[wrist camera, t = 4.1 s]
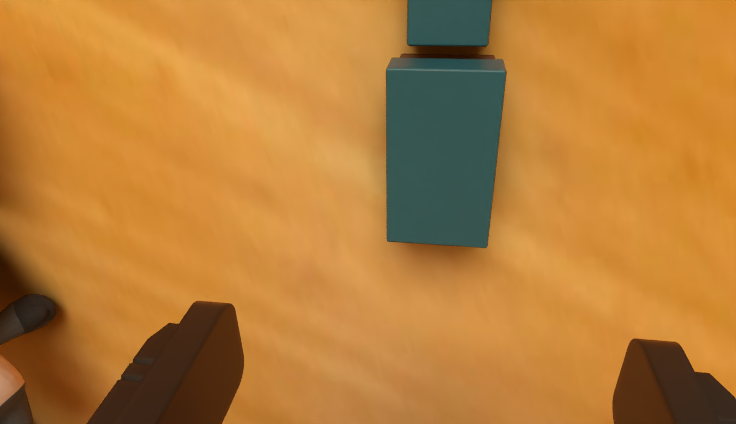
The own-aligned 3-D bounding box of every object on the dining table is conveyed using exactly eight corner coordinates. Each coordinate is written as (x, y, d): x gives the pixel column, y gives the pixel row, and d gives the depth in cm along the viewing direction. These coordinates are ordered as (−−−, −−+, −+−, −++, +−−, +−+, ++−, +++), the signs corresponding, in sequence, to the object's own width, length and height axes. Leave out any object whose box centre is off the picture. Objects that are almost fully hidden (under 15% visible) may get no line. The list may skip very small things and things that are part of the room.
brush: (397, -322, 15) (384, -373, 13) (539, -335, 15) (557, -389, 12) (394, 205, 24) (386, 242, 21) (484, 210, 23) (487, 248, 21)
